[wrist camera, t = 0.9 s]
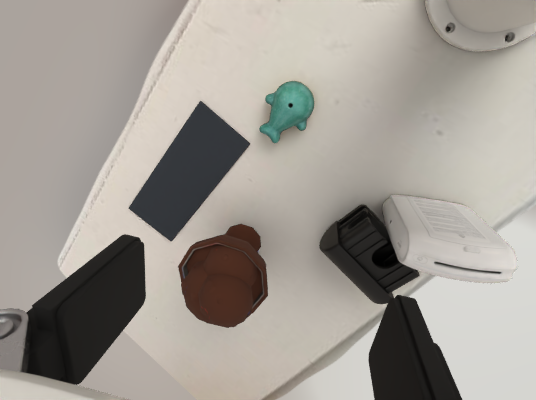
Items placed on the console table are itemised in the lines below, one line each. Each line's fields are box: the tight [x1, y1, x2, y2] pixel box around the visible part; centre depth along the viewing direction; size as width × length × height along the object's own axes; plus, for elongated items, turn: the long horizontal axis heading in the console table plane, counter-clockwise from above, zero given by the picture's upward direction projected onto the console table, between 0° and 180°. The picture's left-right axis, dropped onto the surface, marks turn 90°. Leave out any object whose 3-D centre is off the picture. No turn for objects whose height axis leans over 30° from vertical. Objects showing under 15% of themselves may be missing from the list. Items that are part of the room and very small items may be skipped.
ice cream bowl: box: [178, 224, 268, 328], centre depth 37 cm, size 11×11×15 cm
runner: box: [129, 101, 250, 241], centre depth 42 cm, size 20×8×1 cm, turn 140°
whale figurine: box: [259, 81, 314, 143], centre depth 34 cm, size 6×7×4 cm
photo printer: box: [382, 195, 518, 283], centre depth 32 cm, size 10×4×12 cm, turn 84°
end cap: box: [319, 205, 420, 304], centre depth 38 cm, size 10×7×7 cm
